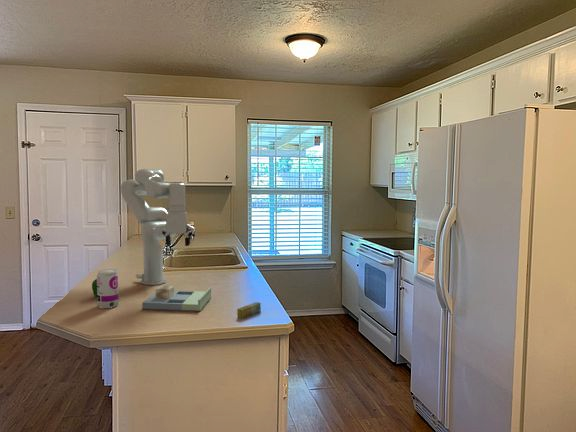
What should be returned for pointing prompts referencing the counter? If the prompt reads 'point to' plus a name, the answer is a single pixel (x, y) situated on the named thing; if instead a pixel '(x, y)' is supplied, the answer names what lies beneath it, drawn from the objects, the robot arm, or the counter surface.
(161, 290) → the maple block
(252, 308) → the medication box
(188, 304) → the slate trap deck
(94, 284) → the bell pepper
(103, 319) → the counter surface
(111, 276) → the supplement can
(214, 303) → the counter surface
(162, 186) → the robot arm
